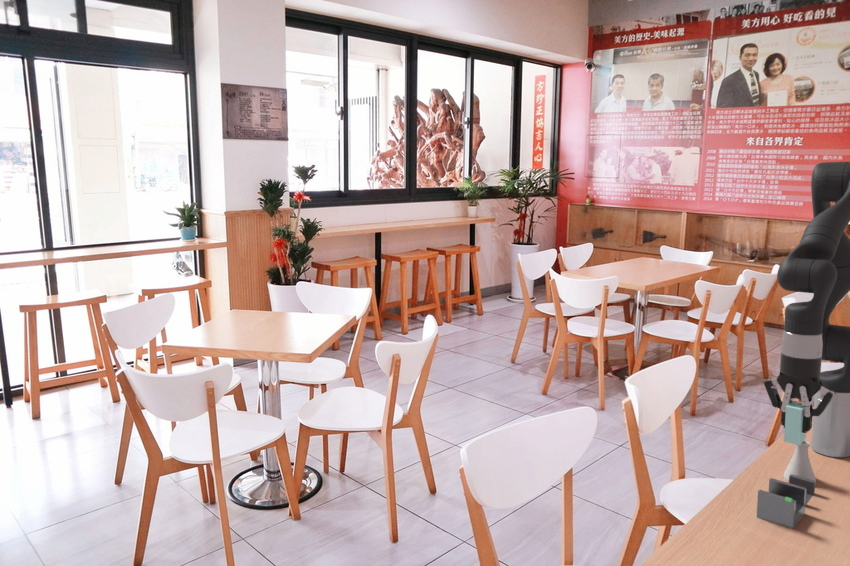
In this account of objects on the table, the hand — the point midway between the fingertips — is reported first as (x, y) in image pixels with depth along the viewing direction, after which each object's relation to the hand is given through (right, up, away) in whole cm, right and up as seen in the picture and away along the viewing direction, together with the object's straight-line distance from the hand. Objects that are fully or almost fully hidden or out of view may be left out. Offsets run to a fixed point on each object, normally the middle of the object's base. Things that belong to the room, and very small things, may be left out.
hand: (795, 429), depth 141 cm
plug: (0, -2, 0) cm, 2 cm away
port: (-4, -19, -1) cm, 19 cm away
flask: (+9, -16, +14) cm, 23 cm away
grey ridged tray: (+4, -17, +6) cm, 18 cm away
